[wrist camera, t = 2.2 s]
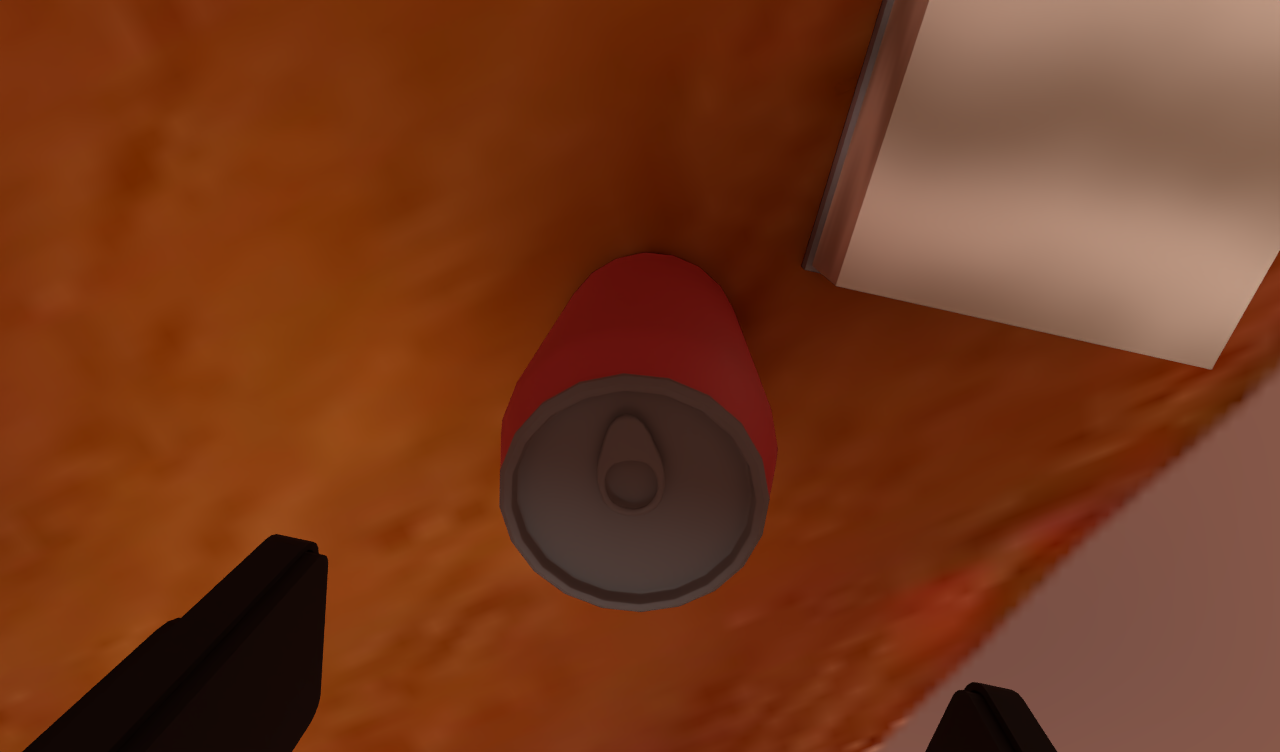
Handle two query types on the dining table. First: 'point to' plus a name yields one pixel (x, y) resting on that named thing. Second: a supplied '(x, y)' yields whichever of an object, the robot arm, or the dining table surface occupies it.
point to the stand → (1064, 167)
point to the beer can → (639, 441)
